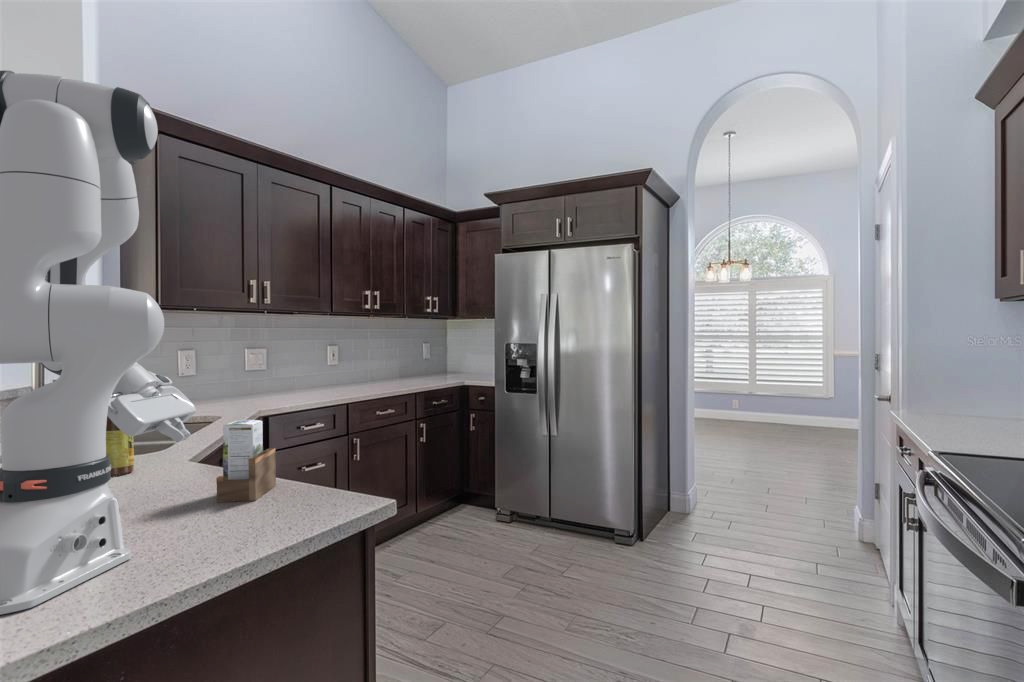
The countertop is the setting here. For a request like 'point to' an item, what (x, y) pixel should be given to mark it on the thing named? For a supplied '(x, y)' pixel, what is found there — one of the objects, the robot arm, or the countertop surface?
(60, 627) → the countertop surface
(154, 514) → the countertop surface
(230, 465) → the syrup box
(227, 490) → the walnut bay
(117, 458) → the sauce bottle
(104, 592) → the countertop surface
